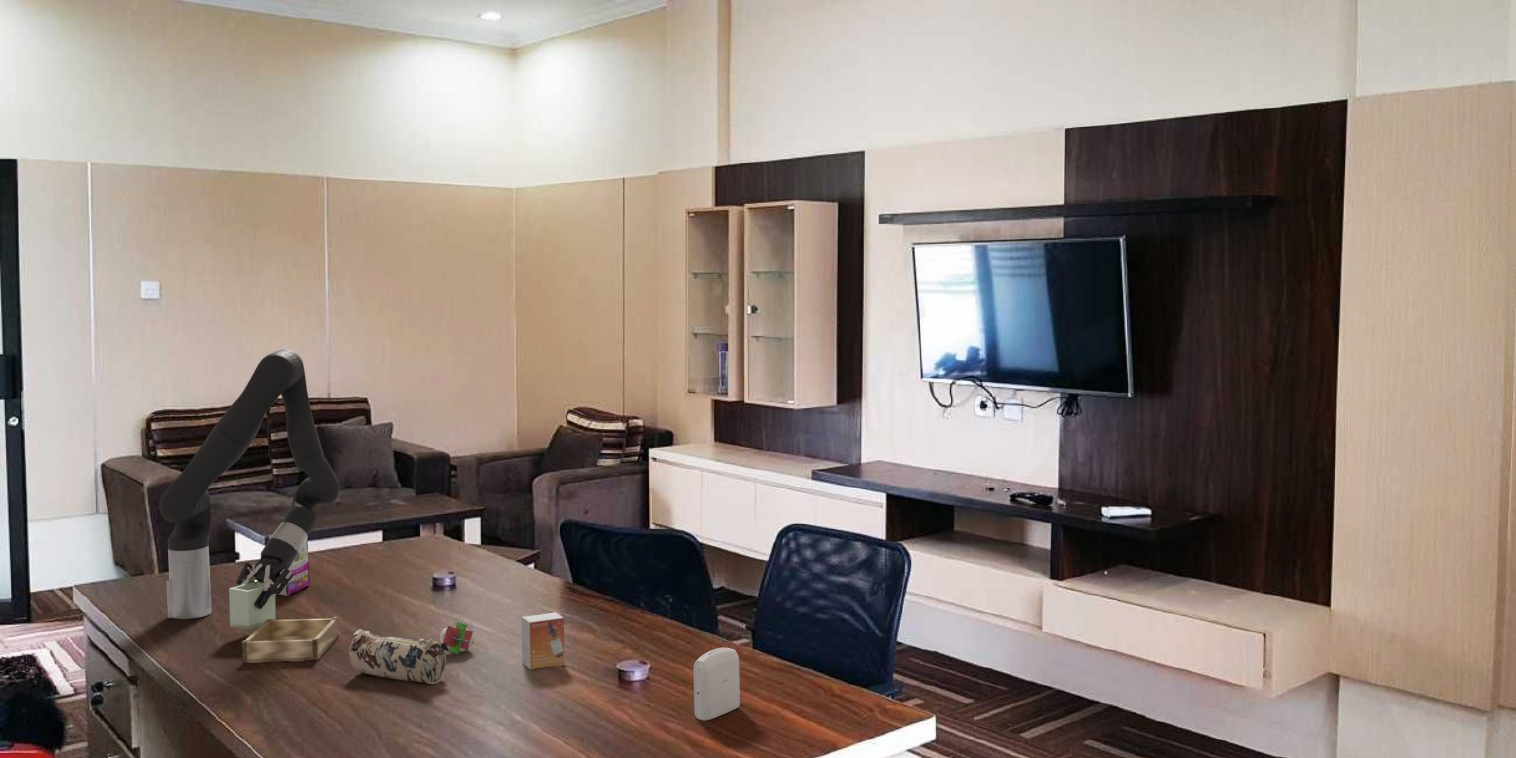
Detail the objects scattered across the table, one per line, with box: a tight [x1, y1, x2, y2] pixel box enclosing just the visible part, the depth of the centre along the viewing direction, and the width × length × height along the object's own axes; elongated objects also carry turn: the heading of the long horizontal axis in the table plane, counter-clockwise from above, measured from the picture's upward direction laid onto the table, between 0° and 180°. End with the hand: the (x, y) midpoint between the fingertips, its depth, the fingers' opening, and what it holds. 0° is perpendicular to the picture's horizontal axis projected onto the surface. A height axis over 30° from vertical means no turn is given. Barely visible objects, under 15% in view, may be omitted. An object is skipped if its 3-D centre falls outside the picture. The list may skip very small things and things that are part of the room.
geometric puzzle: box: [439, 621, 474, 656], centre depth 279 cm, size 7×7×8 cm
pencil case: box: [348, 628, 450, 685], centre depth 261 cm, size 22×8×10 cm, turn 65°
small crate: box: [228, 580, 277, 631], centre depth 292 cm, size 6×8×9 cm
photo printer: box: [693, 647, 741, 722], centre depth 238 cm, size 10×4×12 cm, turn 140°
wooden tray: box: [241, 616, 339, 664], centre depth 281 cm, size 16×18×5 cm
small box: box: [521, 611, 566, 670], centre depth 269 cm, size 8×6×10 cm
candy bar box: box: [268, 533, 311, 597], centre depth 334 cm, size 11×5×16 cm, turn 168°
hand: (246, 605), depth 291 cm, fingers closed on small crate, 6 cm apart
